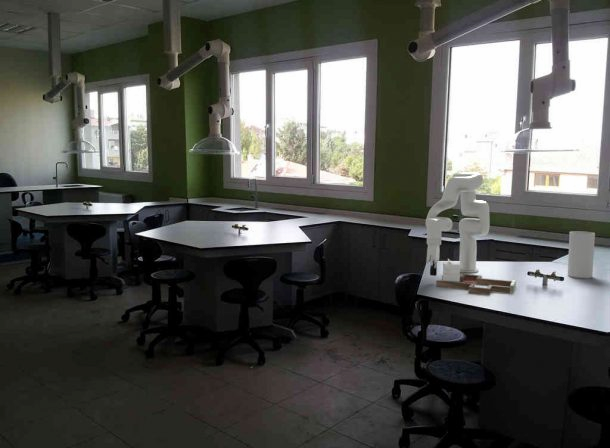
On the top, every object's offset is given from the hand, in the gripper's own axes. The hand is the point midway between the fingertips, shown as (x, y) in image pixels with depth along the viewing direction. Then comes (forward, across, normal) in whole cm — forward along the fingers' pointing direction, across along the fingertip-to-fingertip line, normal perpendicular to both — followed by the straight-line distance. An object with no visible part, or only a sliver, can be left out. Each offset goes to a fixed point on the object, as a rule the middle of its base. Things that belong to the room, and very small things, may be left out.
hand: (433, 275), depth 283 cm
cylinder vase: (+4, -51, +71) cm, 88 cm away
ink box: (+4, 0, +9) cm, 10 cm away
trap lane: (+4, 0, +21) cm, 22 cm away
